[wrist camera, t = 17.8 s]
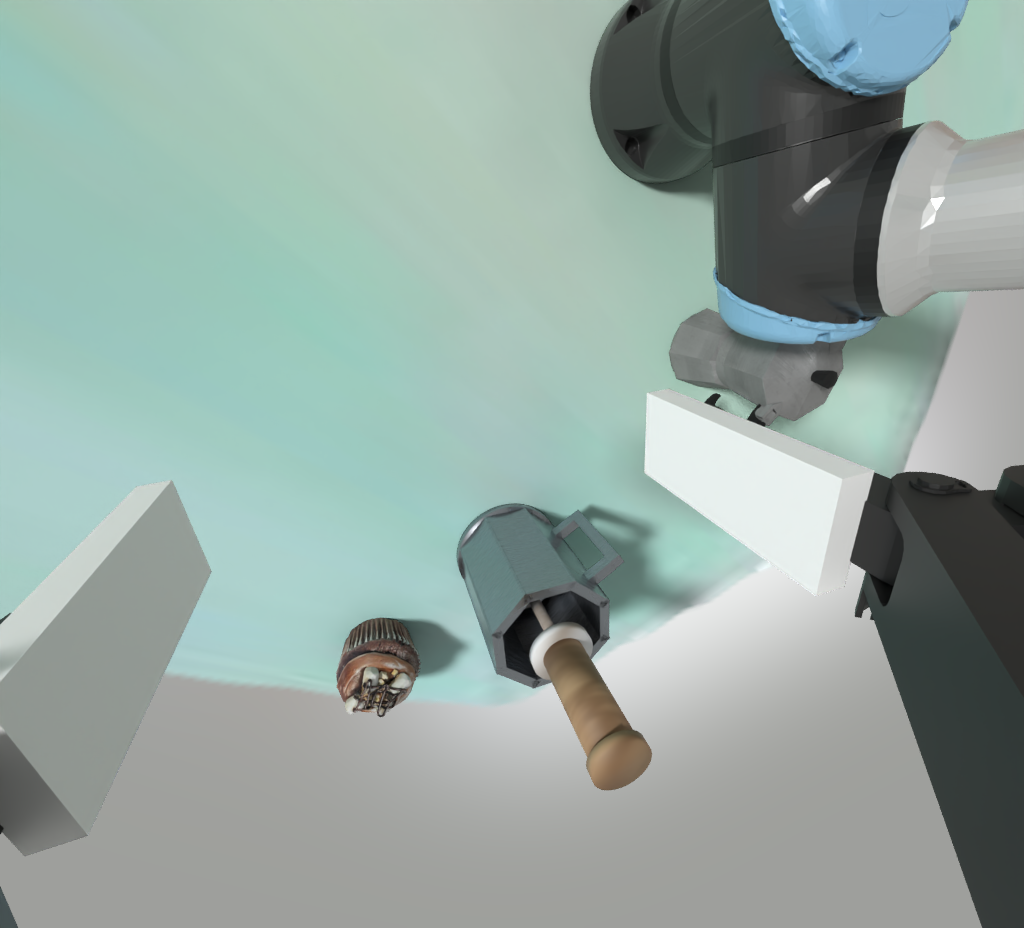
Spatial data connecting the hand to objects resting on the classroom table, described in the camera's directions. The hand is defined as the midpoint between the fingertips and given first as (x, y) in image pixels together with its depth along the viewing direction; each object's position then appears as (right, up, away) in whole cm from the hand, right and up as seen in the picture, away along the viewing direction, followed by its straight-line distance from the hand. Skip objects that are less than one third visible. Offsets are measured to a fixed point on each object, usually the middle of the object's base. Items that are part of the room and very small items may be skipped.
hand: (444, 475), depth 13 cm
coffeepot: (+24, +14, +44) cm, 52 cm away
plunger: (+3, -13, +41) cm, 43 cm away
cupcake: (-15, -22, +46) cm, 54 cm away
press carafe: (+2, -10, +47) cm, 48 cm away
